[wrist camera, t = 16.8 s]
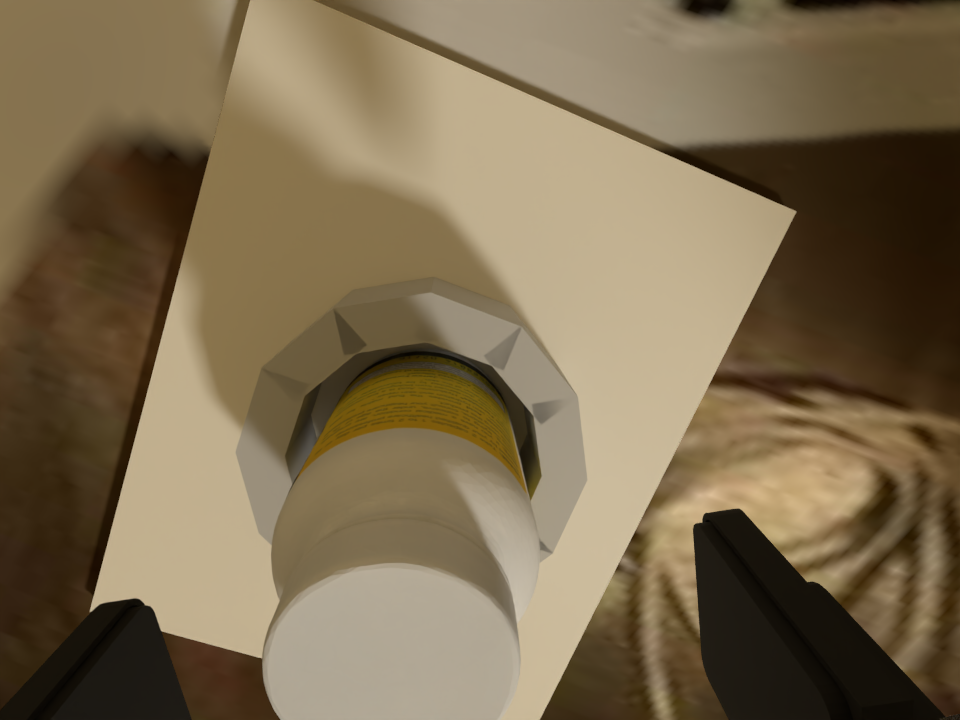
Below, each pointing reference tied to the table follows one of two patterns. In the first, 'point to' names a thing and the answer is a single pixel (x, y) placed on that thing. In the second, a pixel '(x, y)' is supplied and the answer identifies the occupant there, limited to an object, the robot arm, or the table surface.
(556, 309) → the socket
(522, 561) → the supplement bottle
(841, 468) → the table surface
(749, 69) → the table surface
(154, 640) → the robot arm
